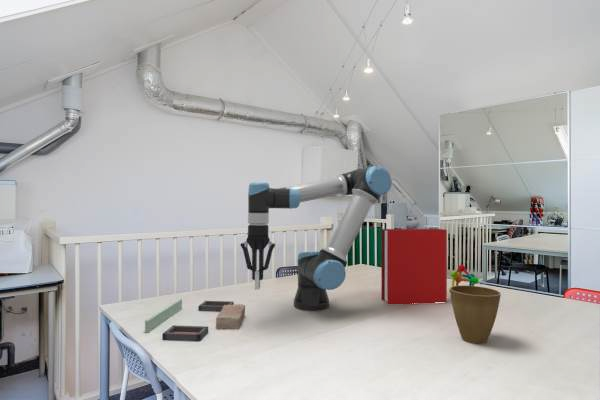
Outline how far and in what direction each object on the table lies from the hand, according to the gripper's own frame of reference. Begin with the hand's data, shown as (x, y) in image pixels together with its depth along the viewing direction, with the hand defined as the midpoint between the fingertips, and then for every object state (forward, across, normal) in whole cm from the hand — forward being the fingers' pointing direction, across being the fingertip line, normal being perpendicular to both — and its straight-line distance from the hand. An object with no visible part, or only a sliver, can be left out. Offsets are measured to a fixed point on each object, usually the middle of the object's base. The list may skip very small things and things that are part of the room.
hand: (257, 288), depth 139 cm
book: (+12, -63, -35) cm, 73 cm away
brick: (+13, +10, 0) cm, 16 cm away
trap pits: (+13, +21, 0) cm, 24 cm away
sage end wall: (+13, +35, 0) cm, 37 cm away
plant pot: (+12, -73, +10) cm, 75 cm away
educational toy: (+12, -88, -48) cm, 101 cm away
